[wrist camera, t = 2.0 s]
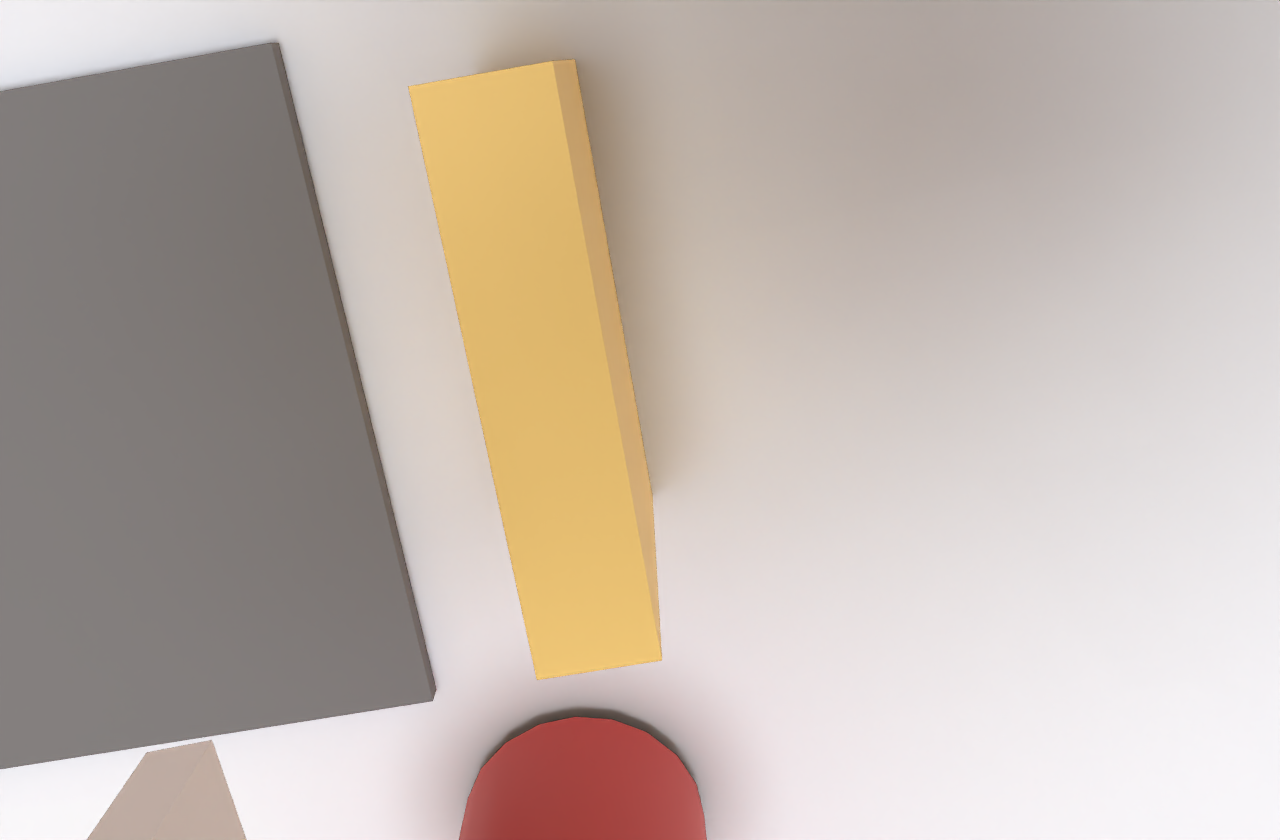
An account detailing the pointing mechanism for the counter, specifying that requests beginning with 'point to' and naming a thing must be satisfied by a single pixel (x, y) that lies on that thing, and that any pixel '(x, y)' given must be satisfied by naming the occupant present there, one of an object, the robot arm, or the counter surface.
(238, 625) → the mat
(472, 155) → the slab
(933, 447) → the counter surface
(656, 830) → the beer can
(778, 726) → the counter surface
